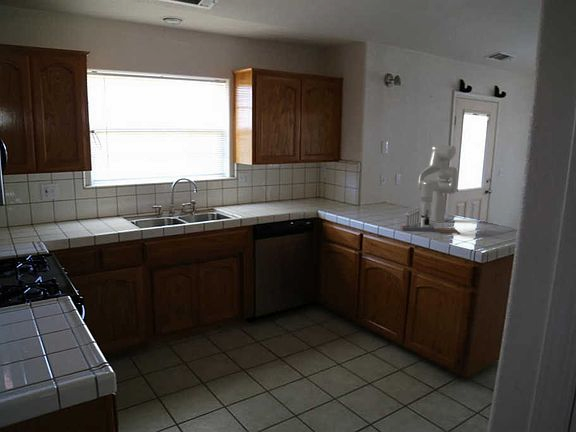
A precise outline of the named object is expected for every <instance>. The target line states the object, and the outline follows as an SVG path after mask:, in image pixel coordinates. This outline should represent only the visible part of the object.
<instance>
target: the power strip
mask: <svg viewBox="0 0 576 432" xmlns="http://www.w3.org/2000/svg"><path fill="white" fill-rule="evenodd" d="M400 230H401V231H402V232H435V231H436V227H434V225H429V227H421V224H414V225H406V224H401V225H400Z"/></svg>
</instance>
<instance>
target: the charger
mask: <svg viewBox="0 0 576 432" xmlns="http://www.w3.org/2000/svg"><path fill="white" fill-rule="evenodd" d="M426 217H427V216H426ZM424 221H425V216H424V218H421V217H420V223H421V224H420V225H421V227H429V226H430V224H429V225H424Z"/></svg>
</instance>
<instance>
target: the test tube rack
mask: <svg viewBox="0 0 576 432" xmlns="http://www.w3.org/2000/svg"><path fill="white" fill-rule="evenodd" d="M420 210H421V208H420V207H419V206H417V207H414V208H412V209H410V210H406V211H407V212H406V213H403V215H404V216H406V219H405V220H406V221H405V225H421V222H420Z"/></svg>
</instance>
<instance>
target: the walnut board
mask: <svg viewBox="0 0 576 432" xmlns="http://www.w3.org/2000/svg"><path fill="white" fill-rule="evenodd" d="M435 230H437V231H438V232H439V233H440V234H441V233H444V234H446V233H447V234H457V235H461V232H460V231H458V230H457V229H456V228H454V227H453V228H452V227H451V228H449V227H442V228H441V227H435Z"/></svg>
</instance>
